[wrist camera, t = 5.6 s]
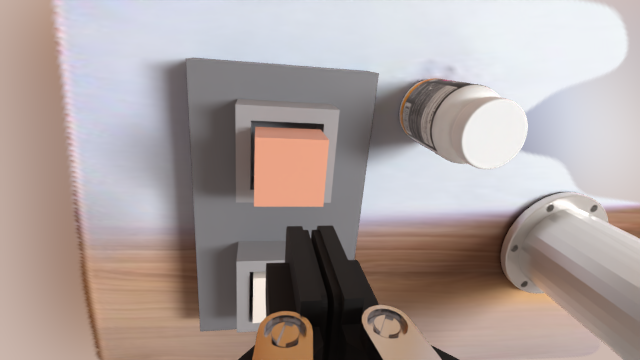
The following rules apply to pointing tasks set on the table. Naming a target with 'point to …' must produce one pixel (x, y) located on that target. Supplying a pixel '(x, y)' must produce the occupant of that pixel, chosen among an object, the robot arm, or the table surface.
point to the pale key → (259, 296)
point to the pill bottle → (464, 122)
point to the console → (238, 170)
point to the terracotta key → (290, 167)
